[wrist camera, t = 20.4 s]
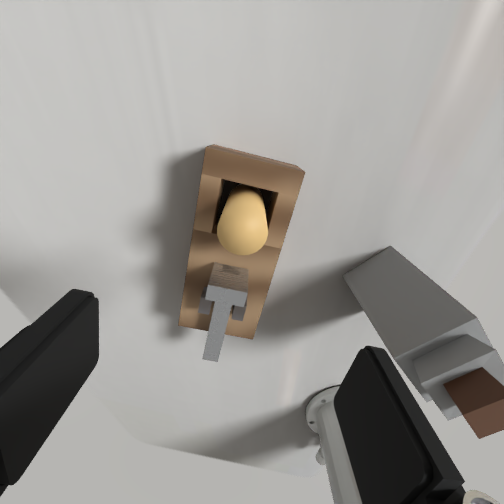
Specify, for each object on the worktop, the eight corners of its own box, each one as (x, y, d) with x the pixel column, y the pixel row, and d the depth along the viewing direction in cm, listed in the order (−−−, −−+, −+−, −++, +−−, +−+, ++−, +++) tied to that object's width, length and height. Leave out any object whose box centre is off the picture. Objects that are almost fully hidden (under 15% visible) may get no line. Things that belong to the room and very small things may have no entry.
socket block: (252, 313, 36) (252, 352, 30) (187, 300, 35) (173, 337, 29) (296, 165, 28) (309, 175, 22) (213, 144, 27) (201, 148, 21)
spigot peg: (258, 221, 31) (260, 259, 22) (225, 214, 30) (213, 249, 21) (267, 188, 29) (273, 214, 20) (232, 179, 29) (222, 201, 20)
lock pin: (226, 352, 32) (222, 384, 28) (197, 347, 32) (189, 378, 28) (248, 269, 27) (247, 292, 23) (214, 262, 27) (207, 284, 23)
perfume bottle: (413, 283, 34) (562, 423, 18) (367, 309, 36) (462, 459, 19) (390, 245, 32) (536, 366, 16) (342, 275, 34) (426, 412, 17)
